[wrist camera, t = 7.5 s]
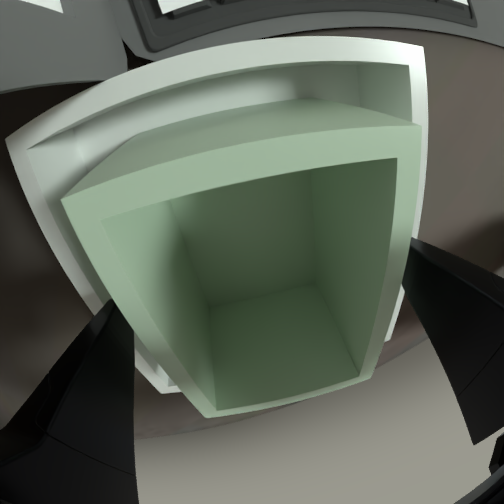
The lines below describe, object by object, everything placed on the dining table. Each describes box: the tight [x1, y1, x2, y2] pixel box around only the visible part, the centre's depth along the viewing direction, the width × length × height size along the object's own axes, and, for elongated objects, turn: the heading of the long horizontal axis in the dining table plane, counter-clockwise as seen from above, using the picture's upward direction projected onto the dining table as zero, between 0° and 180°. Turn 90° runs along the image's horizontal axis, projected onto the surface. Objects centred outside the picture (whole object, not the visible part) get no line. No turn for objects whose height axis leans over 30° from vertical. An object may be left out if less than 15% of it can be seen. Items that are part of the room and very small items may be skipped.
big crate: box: [5, 36, 428, 394], centre depth 10 cm, size 12×13×4 cm
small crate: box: [61, 98, 422, 418], centre depth 9 cm, size 6×9×6 cm
